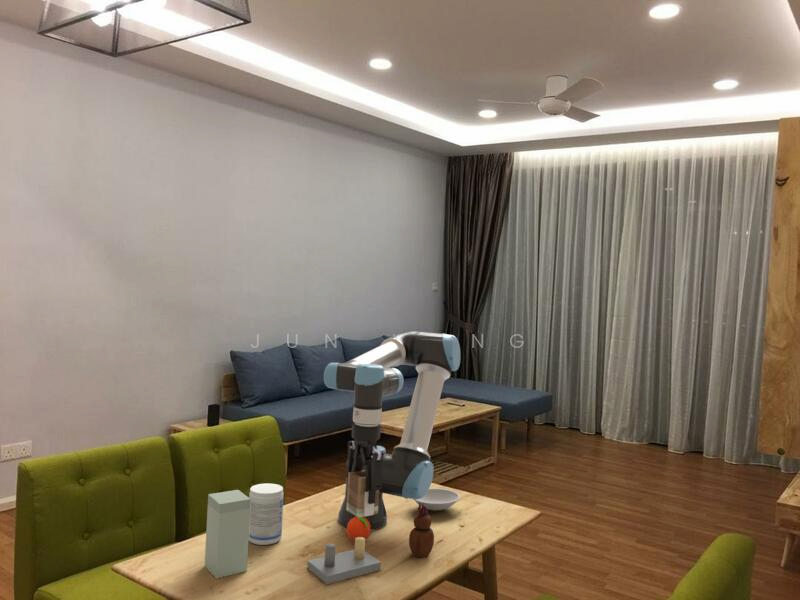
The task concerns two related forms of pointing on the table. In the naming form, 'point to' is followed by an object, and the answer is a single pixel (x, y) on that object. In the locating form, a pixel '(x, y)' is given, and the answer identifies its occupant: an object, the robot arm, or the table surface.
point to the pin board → (344, 563)
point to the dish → (438, 499)
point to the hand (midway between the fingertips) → (361, 510)
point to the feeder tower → (227, 533)
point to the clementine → (358, 528)
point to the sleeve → (358, 493)
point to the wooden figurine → (421, 534)
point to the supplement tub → (265, 513)
